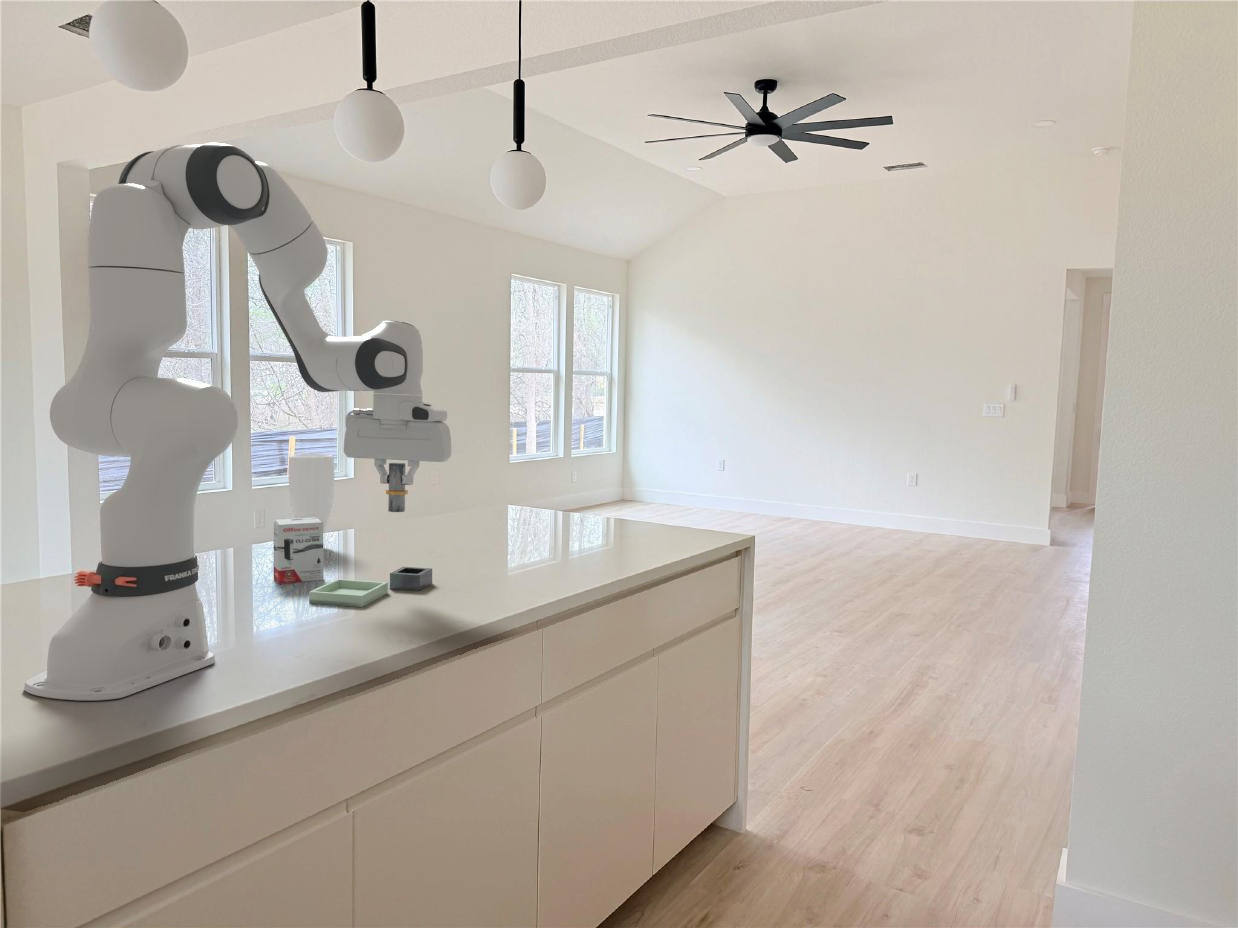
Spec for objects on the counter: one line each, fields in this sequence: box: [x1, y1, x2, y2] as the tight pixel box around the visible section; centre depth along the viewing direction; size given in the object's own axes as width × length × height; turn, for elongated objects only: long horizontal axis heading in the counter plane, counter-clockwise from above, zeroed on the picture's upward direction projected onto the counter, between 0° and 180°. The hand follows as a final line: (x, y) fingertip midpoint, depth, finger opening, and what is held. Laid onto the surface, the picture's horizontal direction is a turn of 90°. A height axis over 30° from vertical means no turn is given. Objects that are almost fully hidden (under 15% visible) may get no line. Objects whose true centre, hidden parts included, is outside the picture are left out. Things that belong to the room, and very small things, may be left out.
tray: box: [308, 578, 389, 608], centre depth 148 cm, size 10×10×2 cm
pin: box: [385, 462, 409, 513], centre depth 154 cm, size 4×4×9 cm
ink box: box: [273, 517, 324, 585], centre depth 161 cm, size 8×5×12 cm, turn 123°
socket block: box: [389, 566, 433, 592], centre depth 158 cm, size 6×6×3 cm
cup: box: [288, 453, 335, 534], centre depth 191 cm, size 10×10×22 cm
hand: (396, 484), depth 154 cm, fingers closed on pin, 3 cm apart
